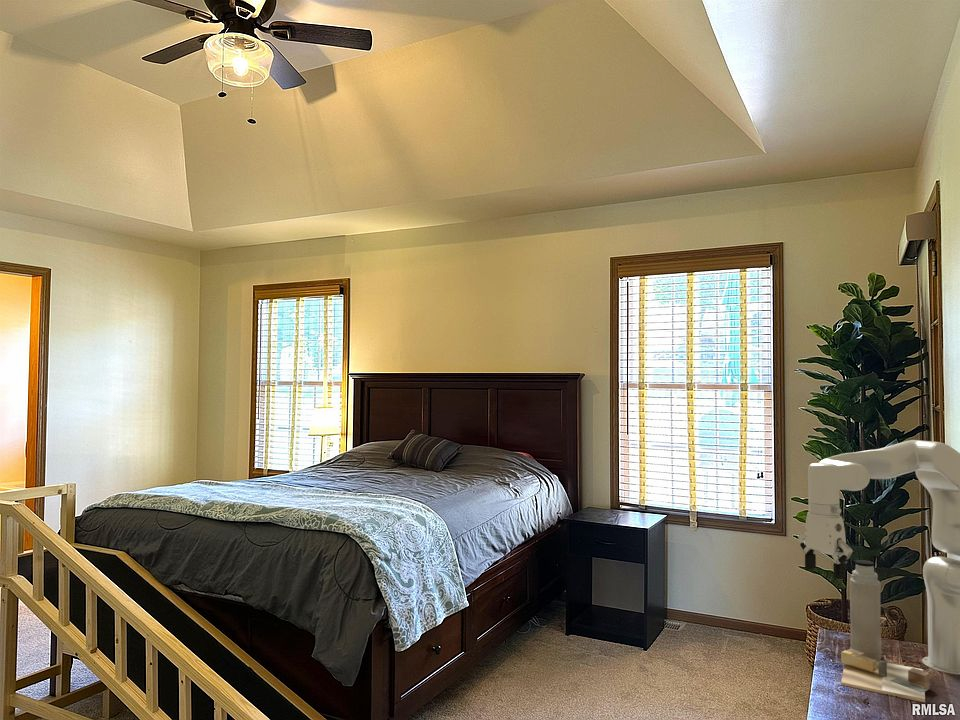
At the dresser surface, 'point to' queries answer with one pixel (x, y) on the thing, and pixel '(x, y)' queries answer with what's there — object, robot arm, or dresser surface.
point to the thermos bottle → (865, 610)
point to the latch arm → (858, 661)
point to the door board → (888, 679)
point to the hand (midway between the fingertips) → (824, 573)
